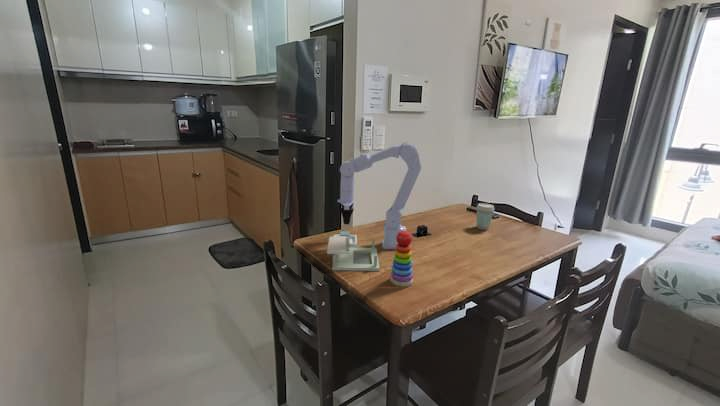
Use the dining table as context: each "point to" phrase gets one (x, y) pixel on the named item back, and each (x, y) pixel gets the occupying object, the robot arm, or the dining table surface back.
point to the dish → (351, 240)
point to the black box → (421, 231)
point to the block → (344, 233)
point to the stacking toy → (402, 261)
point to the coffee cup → (484, 215)
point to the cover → (338, 245)
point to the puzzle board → (357, 259)
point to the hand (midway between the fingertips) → (346, 221)
